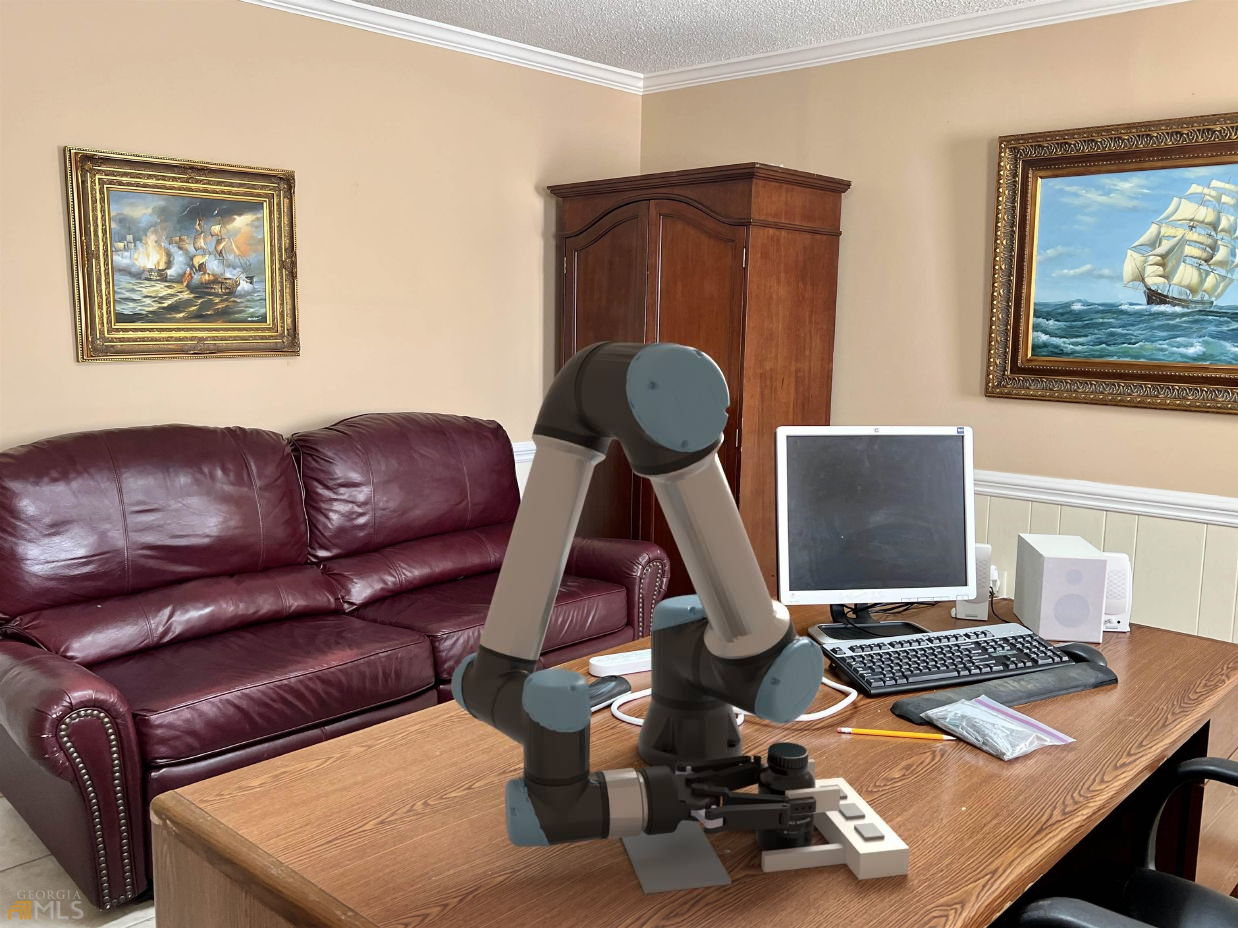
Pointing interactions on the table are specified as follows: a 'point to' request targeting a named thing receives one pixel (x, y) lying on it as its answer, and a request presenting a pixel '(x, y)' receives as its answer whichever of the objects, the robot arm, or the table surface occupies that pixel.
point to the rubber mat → (675, 860)
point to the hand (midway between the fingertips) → (825, 783)
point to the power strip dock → (847, 841)
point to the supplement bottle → (775, 779)
